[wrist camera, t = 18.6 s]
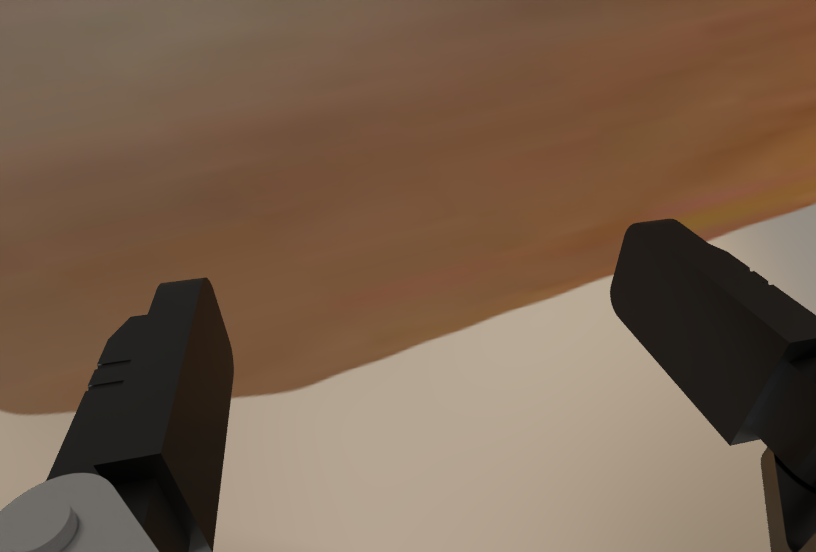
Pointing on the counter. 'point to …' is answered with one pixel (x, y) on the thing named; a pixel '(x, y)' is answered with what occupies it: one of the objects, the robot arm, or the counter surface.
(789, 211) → the counter surface
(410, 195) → the counter surface
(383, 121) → the counter surface
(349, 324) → the counter surface
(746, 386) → the robot arm
